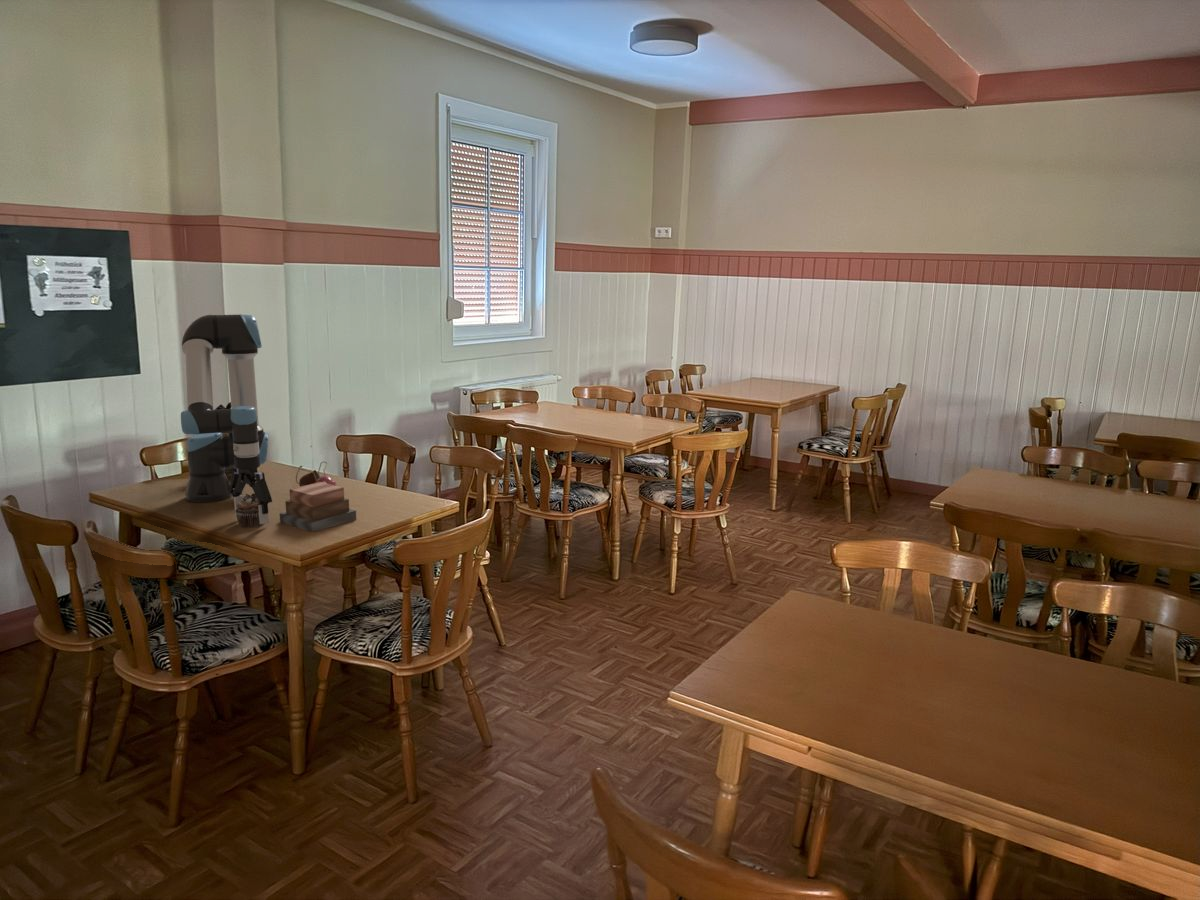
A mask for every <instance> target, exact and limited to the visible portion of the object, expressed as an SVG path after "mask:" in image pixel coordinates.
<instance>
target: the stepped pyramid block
mask: <svg viewBox="0 0 1200 900" xmlns="http://www.w3.org/2000/svg"><path fill="white" fill-rule="evenodd" d="M285 510H286V511H283V512H279V523H282V524H285V525H289V526H293V527H295V528H298V529H302V530H305V531H308V532H312V533H314V532H318V531H321V530H325V529H328V528H331V527H334V526H338V525H342V524H345V523H348V522H352V521H355V520H357V510H355V509H352V508H350V500H349V498H346V497H345V487H343V486H338V485H337V486H335V485H331V484H327V483H326V482H324V483H323V482H318V483H314V484H309V485H305V486H301V487H300V486H296V487H293V488H289V500H286V501H285Z"/></svg>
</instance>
